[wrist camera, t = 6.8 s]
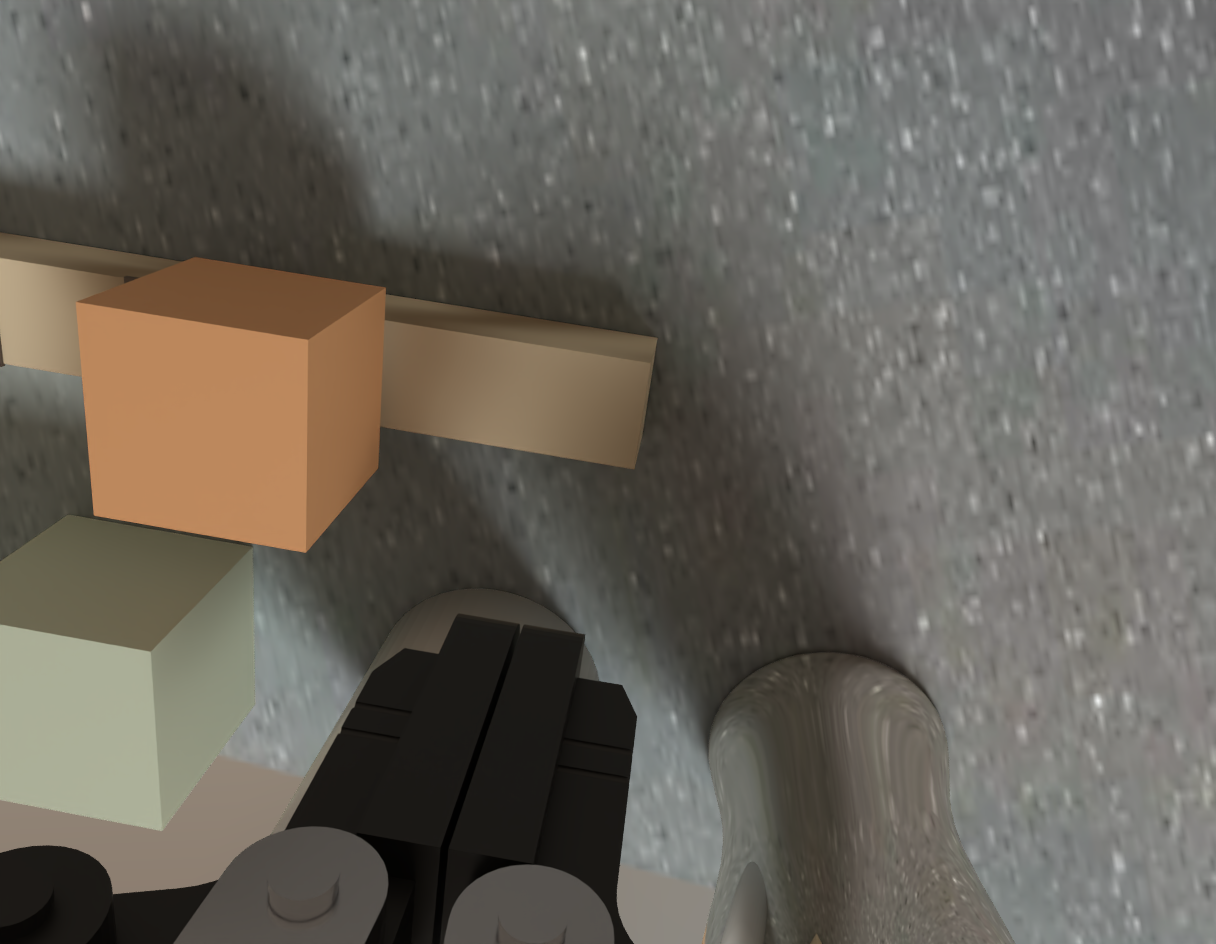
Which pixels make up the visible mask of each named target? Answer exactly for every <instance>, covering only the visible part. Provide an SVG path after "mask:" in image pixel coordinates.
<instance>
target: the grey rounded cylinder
mask: <svg viewBox="0 0 1216 944" xmlns="http://www.w3.org/2000/svg"><path fill="white" fill-rule="evenodd" d="M459 613H460V614H466V615H472V616H478V617H484V618H490V619H496V620H501V621H507V622H513V623H519V624H520V633H521V630H522V627H523V625H524V624H526V625H532V626H538V627H544V628H550V629H556V630H561V631H567V632H573V633H575V632H574V631H573V630H572V629H571V627H570V626H569V625H568V624H567V623H565V622H564V621H563V620H562V619H561V618H559V617H558V616H557V615H556V614H554V613H553V612H551V611H550V610H548V609H546V608H545V607H543V606H542V605H540V604H538V603H536V602H533V601H531V600H529V599H527V598H524V597H521V596H519V595H516V594H512V593H508V592H504V591H500V590H492V589H461V590H454V591H449V592H445V593H441V594H439V595H436V596H434V597H431V598H428V599H426V600H425V601H423V602H421V603H419V604H418V605H416V606H415V607H413V608H412V609H411V610H409V611H408V612H407V613H406V614H405V615H404V616H403V617H402V618H401V619H400V620H399V621H398V622H397V623H396V625H395V626H394V628H393V629H392V630H391V632H390V633H389V635H388V637H387V639H386V640H385V642H384V644H383V645H382V647H381V649H380V650H379V652H378V654H377V655H376V657H375V659H374V661H373V662H372V664H371V666H370V667H369V669H368V671H367V672H366V674H365V676H364V677H363V679H362V681H361V683H360V684H359V686H358V688H357V689H356V691H355V693H354V694H353V696H352V698H351V699H350V701H349V703H348V705H347V706H346V708H345V710H344V711H343V713H342V715H341V716H340V718H339V720H338V721H337V723H336V725H335V727H334V728H333V730H332V732H331V733H330V735H329V737H328V738H327V740H326V742H325V743H324V745H323V747H322V749H321V750H320V752H319V754H318V755H317V757H316V759H315V760H314V762H313V764H312V765H311V767H310V769H309V771H308V772H307V774H306V776H305V777H304V779H303V781H302V782H301V784H300V786H299V787H298V789H297V791H296V793H295V794H294V796H293V798H292V799H291V801H290V803H289V804H288V806H287V808H286V809H285V811H284V813H283V815H282V817H281V818H280V820H279V821H278V823H277V825H276V827H275V828H274V830H273V832H272V833H271V835H272V834H275V833H278V832H281V831H284V830H285V828H286V827H287V825H288V823H289V821H290V819H291V818H292V816H293V814H294V812H295V810H296V809H297V807H298V805H299V803H300V801H301V799H302V798H303V796H304V794H305V792H306V790H307V789H308V787H309V785H310V783H311V781H312V780H313V778H314V776H315V774H316V772H317V770H318V769H319V767H320V765H321V763H322V761H323V760H324V758H325V756H326V754H327V752H328V751H329V749H330V747H331V745H332V743H333V741H334V740H335V738H336V736H337V734H338V733H339V734H340V732H341V728H342V725H343V723H344V722H345V720H346V718H347V716H348V714H349V713H350V711H351V709H352V708H354V707H355V703H356V700H357V698H358V696H359V694H360V693H361V691H362V689H363V687H364V685H365V684H366V682H367V680H368V678H369V676H370V674H371V673H372V671H373V670H375V669H376V668H377V667H379V666H380V665H382V664H383V663H384V662H386V661H387V660H389V659H390V658H391V657H393V656H394V655H396V654H397V653H398V652H400V651H401V650H402V649H404V648H408V649H413V650H419V651H425V652H431V653H437V654H439V652H440V649H441V647H442V645H443V643H444V641H445V639H446V636H447V634H448V632H449V630H450V628H451V625H452V623H453V621H454V619H455V617H456V616H457V614H459ZM579 678H583V679H589V680H595V681H599V677H598V673H597V669H596V666H595V664H594V661H593V659H592V657H591V655H590V653H589V651H588V649H587V648H586V646H585V644H584V648H583V655H582V662H581V669H580V676H579Z"/></svg>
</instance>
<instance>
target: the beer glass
mask: <svg viewBox="0 0 1216 944" xmlns="http://www.w3.org/2000/svg"><path fill="white" fill-rule="evenodd" d="M708 756H709V767H710V772H711V778H712V782H713V786H714V791H715V795H716V798H717V802H718V806H719V811H720V815H721V821H722V832H723V846H722V857H721V865H720V870H719V874H718V879H717V884H716V888H715V893H714V898H713V901H712V905H711V909H710V913H709V917H708V920H707V924H706V928H705V933H704V936H703V940H702V944H1015V942H1014V940H1013V938H1012V936H1011V934H1010V933H1009V931H1008V929H1007V927H1006V925H1005V924H1004V922H1003V920H1002V918H1001V917H1000V915H999V913H998V911H997V909H996V908H995V906H994V904H993V902H992V901H991V899H990V897H989V895H988V893H987V892H986V890H985V888H984V886H983V885H982V883H981V881H980V879H979V877H978V875H977V873H976V872H975V870H974V868H973V866H972V864H971V862H970V860H969V858H968V856H967V854H966V852H965V850H964V848H963V846H962V843H961V841H960V838H959V835H958V833H957V830H956V827H955V824H954V820H953V815H952V811H951V803H950V773H949V753H948V743H947V738H946V734H945V730H944V727H943V724H942V721H941V719H940V716H939V714H938V712H937V711H936V709H935V707H934V706H933V704H932V703H931V701H930V700H929V699H928V697H927V696H926V695H925V694H924V693H923V691H922V690H921V689H920V688H919V687H918V686H917V685H916V684H914V683H913V682H912V681H911V680H910V679H908V678H907V677H906V676H904V675H903V674H901V673H900V672H898V671H896V670H895V669H893V668H891V667H889V666H887V665H885V664H883V663H880V662H878V661H875V660H872V659H869V658H866V657H862V656H858V655H853V654H847V653H837V652H815V653H806V654H800V655H795V656H791V657H787V658H784V659H781V660H778V661H775V662H773V663H770V664H768V665H766V666H764V667H762V668H760V669H758V670H757V671H755V672H753V673H752V674H750V675H749V676H748V677H746V678H745V679H744V680H742V681H741V682H740V683H739V684H738V685H737V686H736V687H735V688H734V689H733V690H732V691H731V692H730V693H729V694H728V696H727V697H726V698H725V700H724V701H723V703H722V704H721V706H720V708H719V710H718V711H717V714H716V716H715V718H714V721H713V724H712V727H711V731H710V735H709V743H708Z"/></svg>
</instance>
